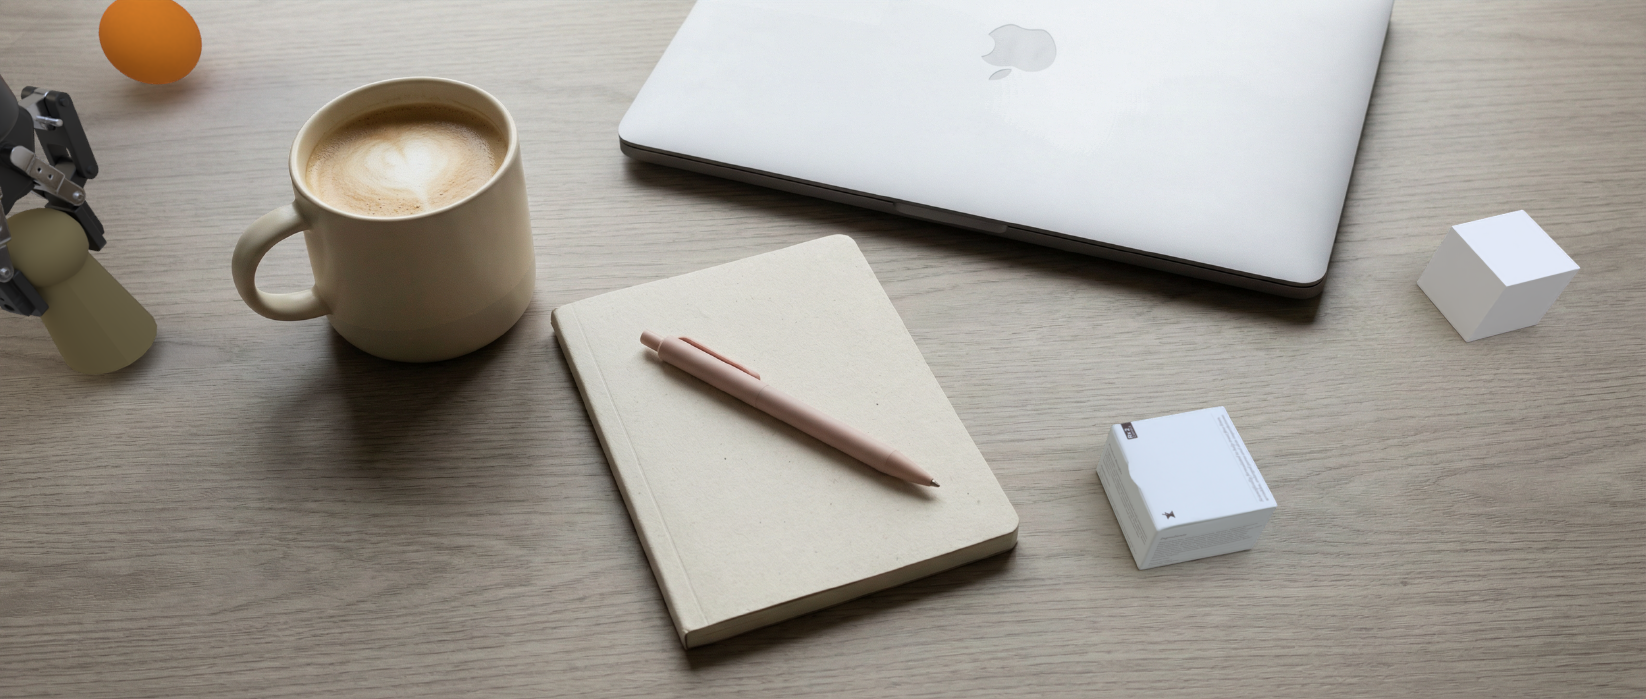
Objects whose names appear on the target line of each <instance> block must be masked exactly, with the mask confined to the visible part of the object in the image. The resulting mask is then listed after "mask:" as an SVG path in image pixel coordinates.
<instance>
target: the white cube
mask: <svg viewBox="0 0 1646 699" xmlns="http://www.w3.org/2000/svg"><path fill="white" fill-rule="evenodd" d="M1580 270H1581V267H1580V266H1579V265H1578V264H1577V263H1576V261H1575V260H1573V259H1572V257H1570V256H1569V255H1568V253H1566V251H1565V250H1564V249H1562V248H1561V247H1560V245H1559V244H1558V243H1557V242H1556V241H1555V240H1554V239H1553V238H1552V237H1551V236H1550V235H1549V234H1548V233H1547V232H1546V231H1545V230H1544V229H1543V228H1542V227H1541V226H1540V225H1539V224H1538V223H1537V222H1536V221H1535V220H1534V219H1533V218H1532V217H1531V216H1530V215H1529V214H1528V213H1527V212H1526V211H1525V210H1524V209H1519V210H1515V211H1514V210H1513V211H1510V212H1507V213H1502V214H1497V215H1493V216H1487V217H1485V218H1484V217H1483V218H1480V219H1475V220H1471V221H1468V222H1463V223H1459V224H1455V225H1451V226H1450V228H1449V229H1448V231H1447V233H1446V234H1445V236H1444V237H1443V238H1442V240H1441V242H1440V244H1439V245H1438V247H1437V249H1436V250H1435V252H1434V253H1433V255H1432V256H1431V258H1430V260H1429V262H1428V263H1427V265H1426V267H1425V268H1424V269H1423V271H1422V273H1421V274H1420V275H1419V278H1418V279H1417V281H1416V285H1417V286H1418V287H1419V288H1420V289H1421V291H1422V292H1423V293H1424V294H1425V296H1426V297H1427V298H1428V299H1429V301H1431V302H1432V303H1433V305H1434V306H1435V307H1436V308H1437V310H1438V311H1439V312H1440V313H1441V314H1442V316H1443V317H1444V318H1445V319H1446V320H1447V321H1448V322H1449V324H1450V325H1451V326H1452V327H1453V328H1454V330H1455V331H1456V333H1458V334H1459V335H1460V336H1461V338H1462V339H1463V340H1464V341H1465V343H1469V342H1474V341H1478V340H1483V339H1486V338H1490V337H1493V336H1497V335H1501V334H1505V333H1509V332H1513V331H1518V330H1520V329H1526V328H1529V327H1532V326H1537V325H1538V324H1539V323H1540V322H1541V320H1542V319H1543V318H1544V316H1545V315H1546V313H1547V312H1548V311H1549V310H1550V308H1551V307H1552V306H1553V305H1554V303H1555V302H1556V301H1557V299H1558V298H1559V297H1560V296H1561V294H1562V293H1563V292H1564V291H1565V289H1566V288H1567V287H1568V285H1569V284H1570V282H1571V281H1572V280H1573V279H1574V277H1575V276H1576V275H1577V273H1579V271H1580Z"/></svg>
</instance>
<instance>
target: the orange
mask: <svg viewBox="0 0 1646 699" xmlns="http://www.w3.org/2000/svg"><path fill="white" fill-rule="evenodd" d="M98 39H99V44H100V47H101V50H102V52H103V54H104V55H105V57H106V59H107V60H108V62H109V63H110V64H111V65H112V66H113V67H114V68H115V69H116V70H117V71H119V73H121V74H123V75H124V76H126V77H128V78H129V79H131V80H134V81H136V82H139V83H142V84H146V85H147V84H148V85H167V84H172V83H175V82H178V81H179V80H181V79H183V78H185V77H186V76H188V75H189V74H190V73H192V72H193V70H194V69H195V68H196V66H197V64H198V63H199V61H200V59H201V55H202V49H203V41H202V39H203V38H202V35H201V31H200V29H199V26H198V24H197V22H196V21H195V19H194V18H193V16H192V15H191V14H190V12H188V10H186V9H185V7H184V6H182V5H181V4H179V3H178V2H177V1H175V0H114V1H113V2H111V3H110V4H109V5H108V6H107V8H106V9H105V11H104V12H103V14H102V16H101V18H100V20H99V25H98Z"/></svg>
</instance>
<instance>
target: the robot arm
mask: <svg viewBox="0 0 1646 699" xmlns="http://www.w3.org/2000/svg"><path fill="white" fill-rule="evenodd" d="M20 99H21V100H19V101H18V98H17V96H16V95H15V94H14V92H13V90H12V89H11V87H10V86H9V84H8V82H6V80H5V78H4V77H3V75H2V74H1V73H0V308H1V310H3V311H5V312H8V313H11V314H15V315H20V316H24V317H30V316H33V317H39V318H40V317H41V316H42V315H43V314H44V313H45V312H46V311H47V310H48V309H49V306H48V304H47V303H46V302H45V301H44V299H43V298H42V297H41V296H40V294H39V293H38V292H37V291H36V289H35V288H34V287H33V286H32V285H31V283H30V282H29V281H28V280H27V278H26V277H25V276H24V275H23V273H22V272H21V271H20V270H16V269H14V267H13V264H12V260H11V257H10V254H9V250H8V247H7V243H8V242H10V241H11V234H10V230H9V227H8V223H7V220H6V219H7V216H8V214H9V213H10V212H11V210H12V209H13V207H14V205H15V204H16V203H17V201H19V200H21V199H22V198H24V197H26V196H27V195H28V194H30V193H31V194H33V195H34V196H36V197H38V198H40V199H42V200H45V201H47V202H46V204H44V207H43V208H51V209H55V210H59V211H61V212H64V213H66V214H68V215H69V216H70V217H72V218H73V219H74V220H76V221H77V222H78V223H79V224H80V225H81V227H82V228H83V230H84V232H85V234H86V236H87V239H88V243H89V250H88V251H92V252H101V250H102V249H103V248H104V247H105V246H106V245H107V244H108V241H107V239H106V238H105V237H104V234H105V229H104V225H103V223H102V222H101V220H100V219H99V218H98V217H97V215H96V214H95V212H94V211H93V209H92V207H91V206H90V205H89V203H88V202H87V200H86V199H87V194H86V190H85V189H84V187H85V186H86V183H87V182H88V180H94V179H95V178H96V177H97V176H98V175H99V165H98V162H97V159H96V158H95V157H96V156H95V155H94V152H93V149H92V147H91V145H90V142H89V139H88V137H87V135H86V132H85V130H84V127H83V124H82V123H81V119H80V117H79V114H78V113H77V112H78V111H77V109H76V107H75V104H74V101H73V100H72V97H71V95H70V94H69V93H68V92H66V91H65V92H64V91H60V90H54V89H50V88H49V89H48V88H44V87H39V86H33V85H26V86H24V87H23V88H22V90H21V92H20ZM35 134H36V137H37V139H38V141H39V144H40V146H41V148H42V151H43V153H44V155H45V158H46V159H47V160H46V161H45V160H43V159H41V157H38V156H37V154H36V143H35V142H36V141H35V140H36V139H35Z"/></svg>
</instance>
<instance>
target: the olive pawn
mask: <svg viewBox="0 0 1646 699" xmlns="http://www.w3.org/2000/svg"><path fill="white" fill-rule="evenodd" d="M6 220H7V223H8V227H9V230H10V234H11V241H10V242H8V243H7V247H8V250H9V254H10V257H11V260H12V264H13V267H14V269H16V270H20V271H21V272H22V273H23V275H24V276H25V277H26V278H27V280H28V281H29V282H30V283H31V285H32V286H33V287H34V288H35V289H36V291H37V292H38V293H39V294H40V296H41V297H42V298H43V299H44V301H45V302H46V303H47V304H48V306H49V309H48V310H47V311H46V312H45V313H44V314H43V315H42V316H41V317H39V318H40V320H41V321H42V323H43V325H44V327H45V329H46V330H47V332H48V334H49V336H50V337H51V340H52V341H53V343H54V345H55V346H56V348H57V350H58V352H59V354H60V356H61V357H62V359H63V361H64V363H65V365H67V366H68V367H69V368H70V369H72V370H73V372H77V373H81V374H83V375H104V374H108V373H112V372H116V371H119V370H122V369H123V368H125V367H128V366H130V365H132V364H133V363H134V362H136V361H137V360H138V359H140V358H142V357H143V356H144V355H145V354H146V353H147V351H149V349H150V348H152V346H153V344H154V341H155V340H156V338H157V333H158V324H157V322H156V320H155V317H154V316H153V315H152V314H151V313H150V312H149V310H147V309H146V308H145V307H144V306H143V305H142V304H141V303H140V301H139V300H137V299H136V298H135V297H134V295H132V294H131V293H130V292H129V291H128V289H126V288H125V287H124V285H122V284H121V283H120V282H119V281H118V280H117V279H116V278H115V277H114V276H113V275H112V273H110V272H109V271H108V269H107V268H105V267H104V266H103V265H102V264H101V262H99V261H98V260H97V259H96V258H95V257H94V256H93V255H92V253H91V252H90V250H89V243H88V239H87V236H86V234H85V232H84V230H83V228H82V227H81V225H80V224H79V223H78V222H77V221H76V220H74V219H73V218H72V217H70V216H69V215H68V214H66V213H64V212H61V211H59V210H55V209H51V208H45V207H34V208H29V209H26V210H22V211H19V212H16V213H15V214H13V215H11V216H9V217H7V218H6Z"/></svg>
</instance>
